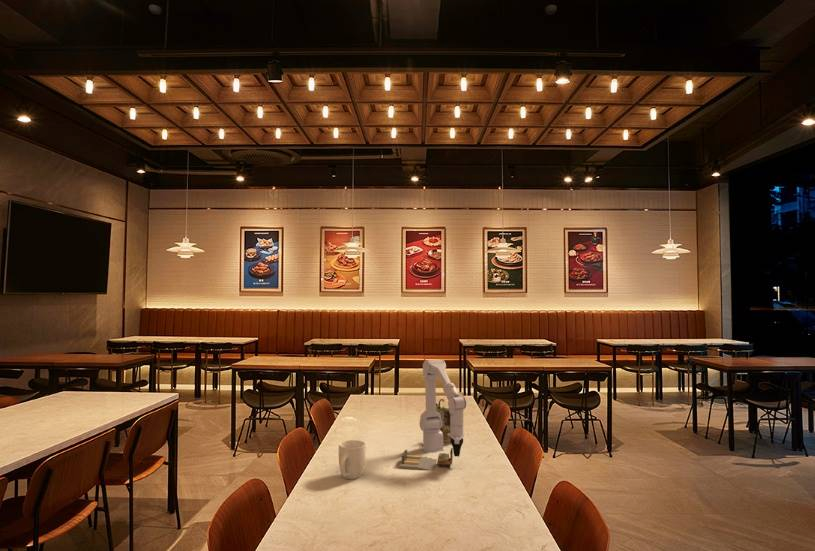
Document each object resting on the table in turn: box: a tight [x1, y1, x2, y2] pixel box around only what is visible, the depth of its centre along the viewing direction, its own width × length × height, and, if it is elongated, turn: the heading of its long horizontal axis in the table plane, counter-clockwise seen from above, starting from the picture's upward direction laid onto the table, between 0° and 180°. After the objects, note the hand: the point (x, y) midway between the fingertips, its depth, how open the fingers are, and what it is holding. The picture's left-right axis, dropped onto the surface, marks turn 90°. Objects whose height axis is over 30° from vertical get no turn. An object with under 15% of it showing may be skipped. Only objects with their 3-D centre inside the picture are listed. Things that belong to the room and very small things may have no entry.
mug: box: [338, 439, 367, 480], centre depth 181 cm, size 15×11×13 cm
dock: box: [398, 449, 438, 472], centre depth 197 cm, size 15×14×4 cm
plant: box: [436, 398, 446, 413], centre depth 283 cm, size 20×20×11 cm
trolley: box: [436, 447, 454, 468], centre depth 196 cm, size 6×6×7 cm
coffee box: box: [439, 407, 451, 443], centre depth 232 cm, size 9×6×16 cm
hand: (456, 455), depth 195 cm, fingers closed
